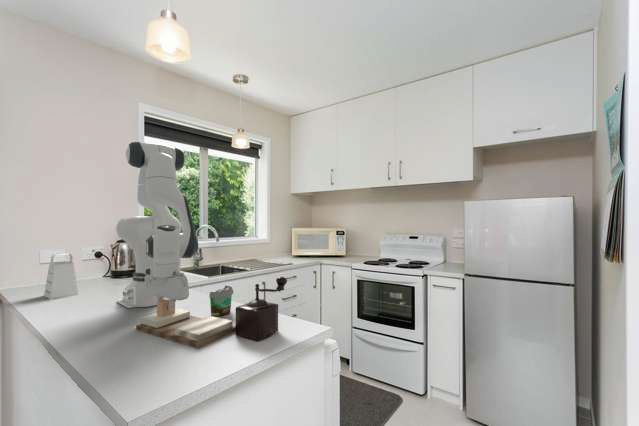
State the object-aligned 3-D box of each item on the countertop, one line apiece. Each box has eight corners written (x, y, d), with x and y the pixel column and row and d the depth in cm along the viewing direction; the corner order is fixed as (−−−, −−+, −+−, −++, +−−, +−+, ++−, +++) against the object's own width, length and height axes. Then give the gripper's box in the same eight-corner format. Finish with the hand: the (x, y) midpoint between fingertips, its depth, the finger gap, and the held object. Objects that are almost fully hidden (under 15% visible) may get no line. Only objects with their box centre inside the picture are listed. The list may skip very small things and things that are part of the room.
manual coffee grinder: (260, 343, 93) (260, 284, 94) (234, 335, 99) (234, 280, 99) (289, 327, 107) (289, 276, 107) (264, 321, 112) (265, 273, 113)
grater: (43, 295, 147) (44, 254, 147) (70, 291, 155) (71, 252, 155) (50, 299, 141) (51, 256, 141) (78, 294, 149) (78, 254, 149)
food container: (223, 319, 114) (223, 293, 114) (208, 318, 115) (209, 292, 116) (238, 309, 126) (239, 286, 126) (225, 309, 127) (225, 285, 128)
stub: (140, 323, 105) (140, 303, 105) (174, 312, 116) (174, 294, 116) (156, 327, 101) (157, 306, 101) (189, 316, 112) (190, 297, 112)
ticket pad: (135, 329, 104) (135, 319, 104) (177, 316, 118) (177, 307, 118) (198, 348, 89) (198, 336, 89) (236, 330, 103) (236, 320, 103)
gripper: (193, 271, 107) (193, 311, 106) (157, 267, 116) (157, 302, 116) (178, 274, 101) (177, 316, 101) (141, 269, 111) (140, 307, 111)
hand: (166, 309), depth 109 cm, fingers closed on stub, 3 cm apart
